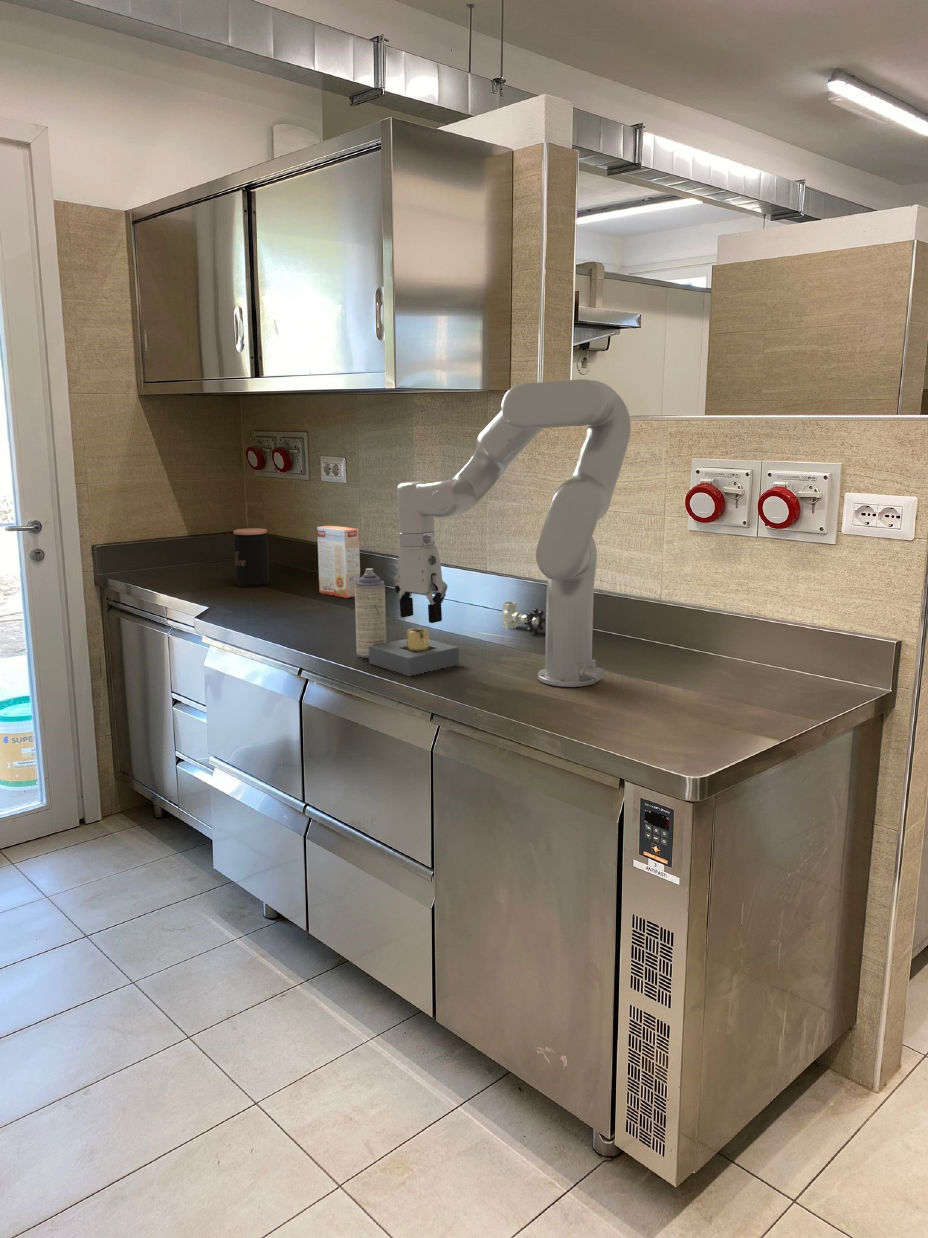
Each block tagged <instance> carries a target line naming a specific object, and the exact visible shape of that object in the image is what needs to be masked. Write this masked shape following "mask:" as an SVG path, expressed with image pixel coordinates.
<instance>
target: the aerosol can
mask: <svg viewBox="0 0 928 1238" xmlns="http://www.w3.org/2000/svg"><path fill="white" fill-rule="evenodd" d="M355 584H356V585H355V597H354V603H355V604H354V605H355V608H354V609H355V634H356V636H355V638H356V639H355V641H356V643H355V644H356V657H357V656H359V657H361V658H360V659H363V658H369V646H374V645H378V644H383V643H387V623H386V621H387V620H386V619H387V617H386V615H387V613H386V586H385V581H384V580H381V577H379V576H378V575H377V574H376V573H374V568H371V567H370V568H365V571H364V574H363V575H362V576H360V579H359V581H357V582H355ZM359 657H358V658H359Z"/></svg>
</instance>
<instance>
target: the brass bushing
mask: <svg viewBox="0 0 928 1238" xmlns="http://www.w3.org/2000/svg"><path fill="white" fill-rule="evenodd" d="M406 639H407V650H408V651H411V652H415V653H418V652H422V651H427V650H429V639H430V630H429V629H428V628H424V627H423V628H422V627H413V628H407V630H406Z"/></svg>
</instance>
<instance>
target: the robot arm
mask: <svg viewBox="0 0 928 1238" xmlns="http://www.w3.org/2000/svg"><path fill="white" fill-rule="evenodd" d="M500 409H501V410H500V411H499V412H498V414H496V415H495V417H493V419H492V420H491V421H490V422H489V423H488V424H487V426H486V427H484V429H483V430H482V431H481V432H480V433H479V434H478V436H477V438H476V439H477V440H476V449H475V451H474V453H473V454H472V456H471V458H470V459H469V461H468V462H467V463H466V464H465V465H464V467H463V468H461V470H460V471H459V472H458V473H456V475H455V476H454V477H453V478H452V479H451V478H450V479H445V480H442V481H436V482H430V483H429V482H427V481H406V482H400V483H399V484H398V485H397V488H396V499H397V501H396V502H397V517H398V518H397V520H398V521H397V522H398V537H399V538H398V539H399V549H398V557H397V561H398V562H397V573H396V575H394V576H393V577H392V583H393V584H394V590H395V592H396V593H397V599H398V600H399V613H400V614H399V615H400V618H408V617H412V616H414V602H413V601H414V599H413V597H411V596H412V594H416V595H423V596H424V595H425V596H426V598H427V600H428V604H427V614H428V623H429V624H435V623H438V622H442V621H443V611H442V603H444V599H445V597H446V595H447V594H446V593H447V590H448V587H449V586H448V584H447V583H446V582H445V581H444V580H443V574H442V573H443V572H442V565H441V557H440V555H439V549H438V547H437V546H436V541H435V540H436V538H435V518H442V519H446V518H451V517H455V516H458V515H462V514H465V513H467V512H469V511H470V510H471V509H472V508H473V507H475V505H477V504H478V503H479V502H480V501H481V499H482V498H484V497H485V495H486V494H487V493H488V492H489V491H490V490H491V489H492V488H493V487H494V485H496V483H497V482H498V480H499V479H500V477H502V475H503V474H504V473H505V471H506V470H507V469H508V466H509V465H510V464H511V463H512V462H513V461H514V459H516V457H518V455H520V454H521V452H522V451H523V450H524V449H525V448H526V447H527V446H528V445H529V444H530V443H531V442H532V440H533V439H535V437H537V435H538V434H539V433H540V432H541V431H542V430H543V429H547V428H549V429H550V428H552V429H553V428H564V427H567V428H568V427H586V429H587V431H586V436H585V440H584V442H583V444H582V446H581V449H580V452H579V455H578V459H577V462H576V464H575V468H574V471H573V473H572V476H571V478H569V479H567V480H565V481H564V482H562V484H560V485H559V486H558V488H557V489H556V490H555V493H554V494H553V497H552V500H551V501H550V505H549V508H548V511H547V514H546V518H545V520H544V524H543V527H542V530H541V533H540V536H539V540H538V541H537V546H536V549H535V550H536V551H535V561H536V565H537V568H538V569H539V572H540V573H541V574H542V575H544V577H546V578H547V582H546V596H545V598H546V600H545V601H546V605H545V618H546V622H545V657H544V658H545V667H544V668H543V669H540V670H539V671H538V672H537V680H538V681H540V682H541V683H543V684H546V685H550V686H554V687H563V688H564V687H565V688H577V687H587V686H591V685H594V684H596V683H598V681H600V680H601V679H602V677H603V676H604V675H605V671H606V670H605V669H604V668H600V667H597V665H596V664H597V660H596V659H593V658H592V657H593V629H594V628H593V623H594V594H595V593H594V591H595V590H594V588H595V580H596V579H595V578H596V569H597V561H598V560H597V559H598V556H597V555H598V554H597V552H598V550H597V544H596V542H595V539H594V537H593V535H594V532H595V529H596V526H597V524H598V521H600V520H601V519H602V518H603V517H605V515H606V514H607V512H608V511H609V509H610V505H611V501H612V497H613V495H614V491H615V488H616V485H617V482H618V479H619V477H620V472H621V470H622V465H623V462H624V459H625V457H626V453H627V450H628V446H629V442H630V437H631V429H632V428H631V426H632V425H631V416H630V413H629V410H628V407H627V405H626V404H625V402H624V400H623V398H622V397H621V396H620V395H619V394H618V393H617V391H615V389H613V388H612V387H611V386H609V385H608V384H606V383H604V382H602V381H599V380H592V379H586V378H585V379H582V378H581V379H566V380H555V381H542V382H522V383H517V384H515V385H513V386H512V387H511V388H509V389H508V390H507V392H505V394H504V396H503V397H502V400H501V408H500ZM433 595H434V596H433Z"/></svg>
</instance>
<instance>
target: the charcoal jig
mask: <svg viewBox="0 0 928 1238" xmlns="http://www.w3.org/2000/svg"><path fill="white" fill-rule="evenodd" d="M459 651H460V648H459V646H455V645H451V644H450V643H449V644H448V643H444V642H441V641H438V640H437V641H436V640H433V639H430V638H429V650H427V651H422V652H418V653H415V652H411V651H408V650H407V638H405V639H404V638H403V639H399V640H395V641H390V642H386V643H383V644H378V645H374V646H369V659H368V662H369V663H370V664H369V665H371V664H374V665H378V666H380V667H383V668H387V669H389V670H388V671H390V670H393V671H397V672H399V673H402V674H404V675H403V676H405V675H408V676H410V675H414V676H417V675H416V674H418V673H422V674H425V673H424V672H427V673H429V672H428V671H431V672H434V671H433V670H435V671H439V670H442V669H441V668H444V669H447V667H448V668H451V667H455V666H454V665H456V666H460V664H459V663H460V655H459V653H460V652H459ZM374 665H373V666H374ZM380 667H379V668H380ZM383 668H382V669H383ZM438 669H439V670H438ZM393 671H392V672H393ZM399 673H398V674H399ZM402 674H401V675H402ZM418 675H419V674H418ZM408 676H407V677H408ZM410 677H411V676H410Z"/></svg>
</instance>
